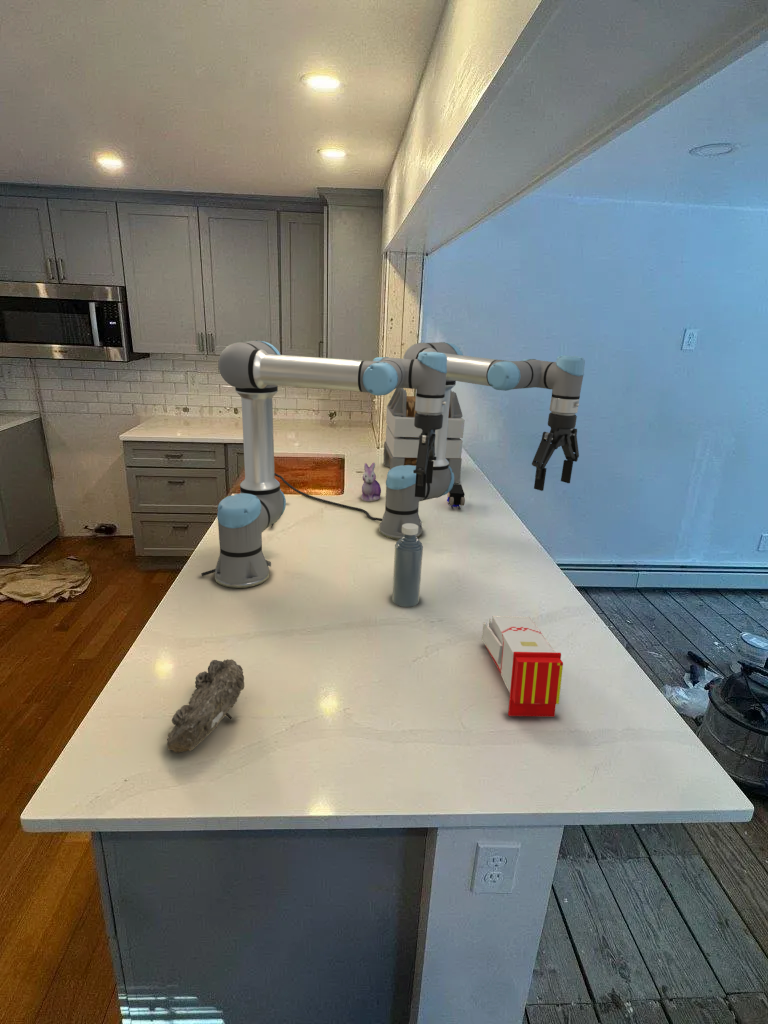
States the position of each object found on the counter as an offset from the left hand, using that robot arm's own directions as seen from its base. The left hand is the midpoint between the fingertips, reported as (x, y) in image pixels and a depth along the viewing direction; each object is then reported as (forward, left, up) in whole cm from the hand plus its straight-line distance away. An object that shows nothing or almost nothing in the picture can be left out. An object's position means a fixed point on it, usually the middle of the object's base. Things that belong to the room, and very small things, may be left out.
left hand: (423, 489), depth 157 cm
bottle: (-1, -13, -28) cm, 31 cm away
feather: (-58, +37, -28) cm, 75 cm away
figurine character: (+4, +71, -28) cm, 77 cm away
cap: (-1, -13, -7) cm, 14 cm away
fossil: (-28, -69, -28) cm, 80 cm away
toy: (+28, -39, -28) cm, 56 cm away
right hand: (+35, +17, 0) cm, 39 cm away
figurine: (-31, +69, -28) cm, 80 cm away
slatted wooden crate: (-18, +114, -28) cm, 119 cm away
